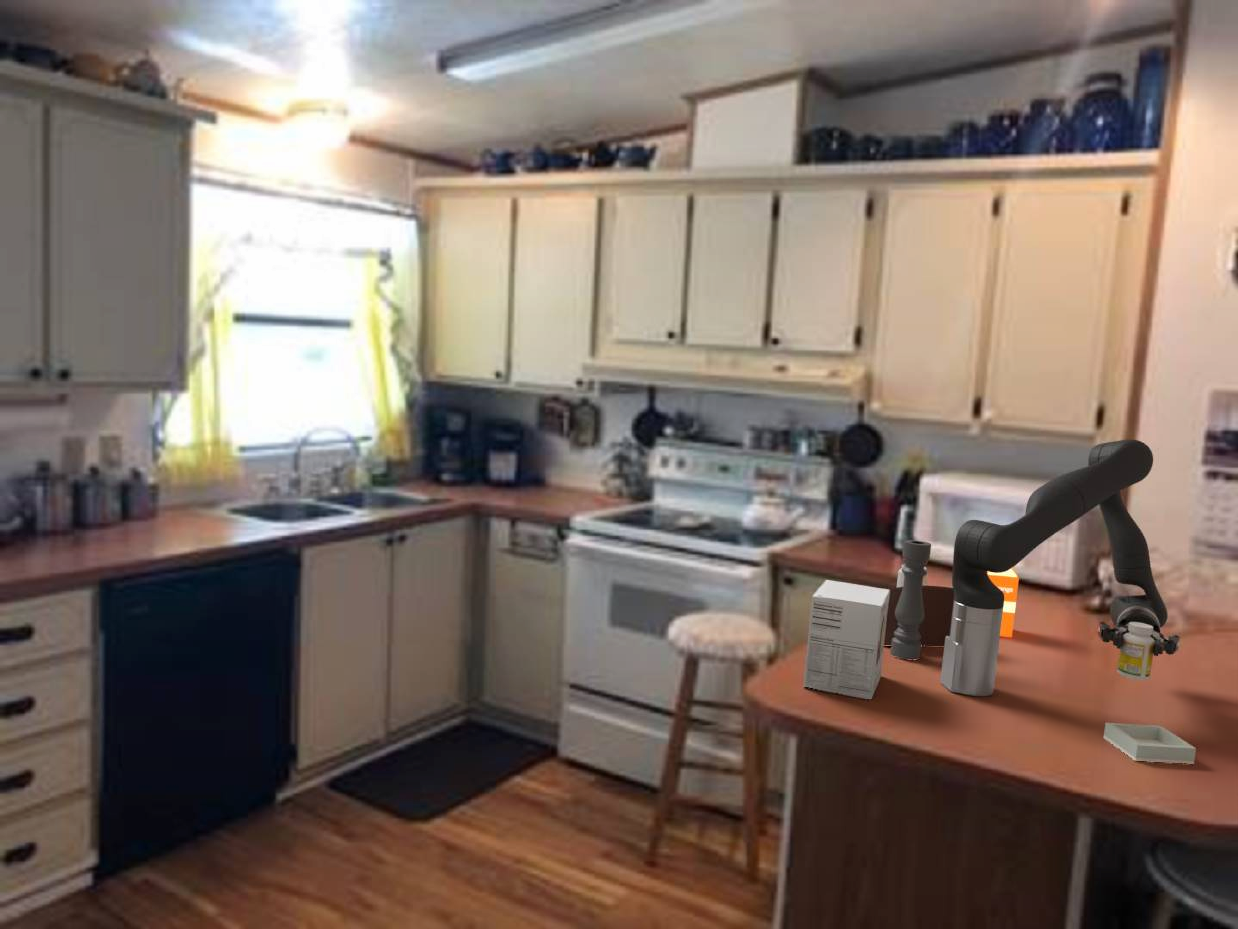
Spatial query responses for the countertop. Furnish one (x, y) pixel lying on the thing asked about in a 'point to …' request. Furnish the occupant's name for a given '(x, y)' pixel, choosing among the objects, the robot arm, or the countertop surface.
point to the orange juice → (1007, 598)
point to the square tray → (1149, 743)
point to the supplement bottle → (1136, 652)
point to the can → (901, 578)
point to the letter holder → (935, 617)
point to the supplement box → (846, 639)
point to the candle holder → (911, 601)
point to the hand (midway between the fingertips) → (1138, 646)
